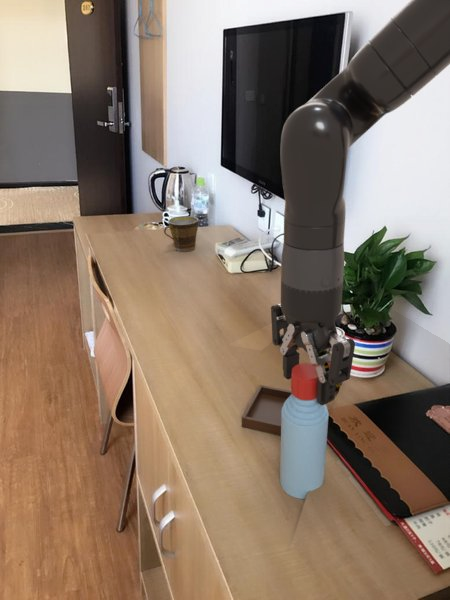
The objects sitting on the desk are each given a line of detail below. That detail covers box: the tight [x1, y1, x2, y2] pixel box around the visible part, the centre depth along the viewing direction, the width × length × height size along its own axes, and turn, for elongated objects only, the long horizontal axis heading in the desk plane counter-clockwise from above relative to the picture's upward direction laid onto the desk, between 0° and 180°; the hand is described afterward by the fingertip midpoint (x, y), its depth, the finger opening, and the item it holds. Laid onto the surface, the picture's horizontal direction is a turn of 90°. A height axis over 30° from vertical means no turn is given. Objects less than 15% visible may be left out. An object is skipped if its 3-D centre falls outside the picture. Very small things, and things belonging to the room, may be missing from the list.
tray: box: [241, 384, 292, 437], centre depth 88 cm, size 11×10×2 cm
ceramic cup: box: [163, 215, 199, 253], centre depth 167 cm, size 13×10×10 cm
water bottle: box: [279, 394, 330, 500], centre depth 71 cm, size 6×6×19 cm
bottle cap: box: [290, 362, 319, 400], centre depth 67 cm, size 4×4×3 cm
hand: (307, 388), depth 68 cm, fingers open, 6 cm apart
